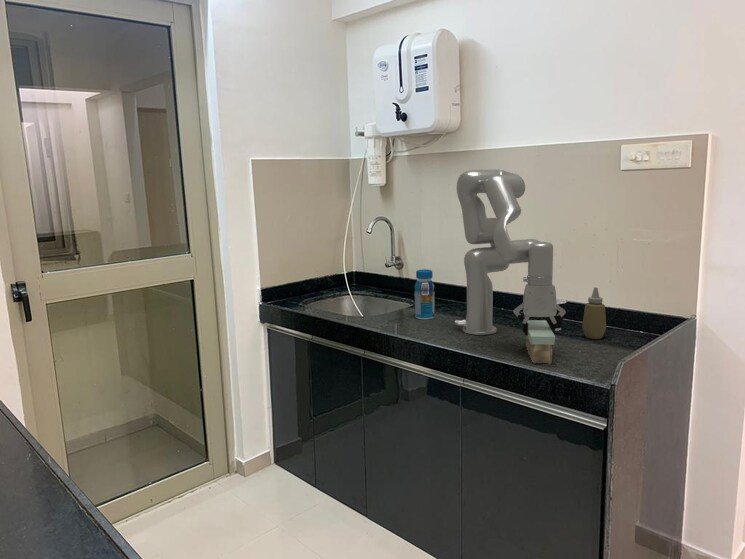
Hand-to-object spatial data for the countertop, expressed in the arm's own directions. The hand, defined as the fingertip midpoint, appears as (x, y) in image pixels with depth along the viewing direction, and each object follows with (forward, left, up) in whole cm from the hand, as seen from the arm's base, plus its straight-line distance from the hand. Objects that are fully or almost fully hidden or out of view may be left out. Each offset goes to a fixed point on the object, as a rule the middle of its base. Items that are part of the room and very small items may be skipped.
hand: (538, 334), depth 182 cm
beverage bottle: (-40, +48, -7) cm, 63 cm away
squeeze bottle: (+22, +22, -7) cm, 32 cm away
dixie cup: (+10, +32, -7) cm, 34 cm away
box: (0, 0, -7) cm, 7 cm away
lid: (0, 0, 0) cm, 0 cm away
